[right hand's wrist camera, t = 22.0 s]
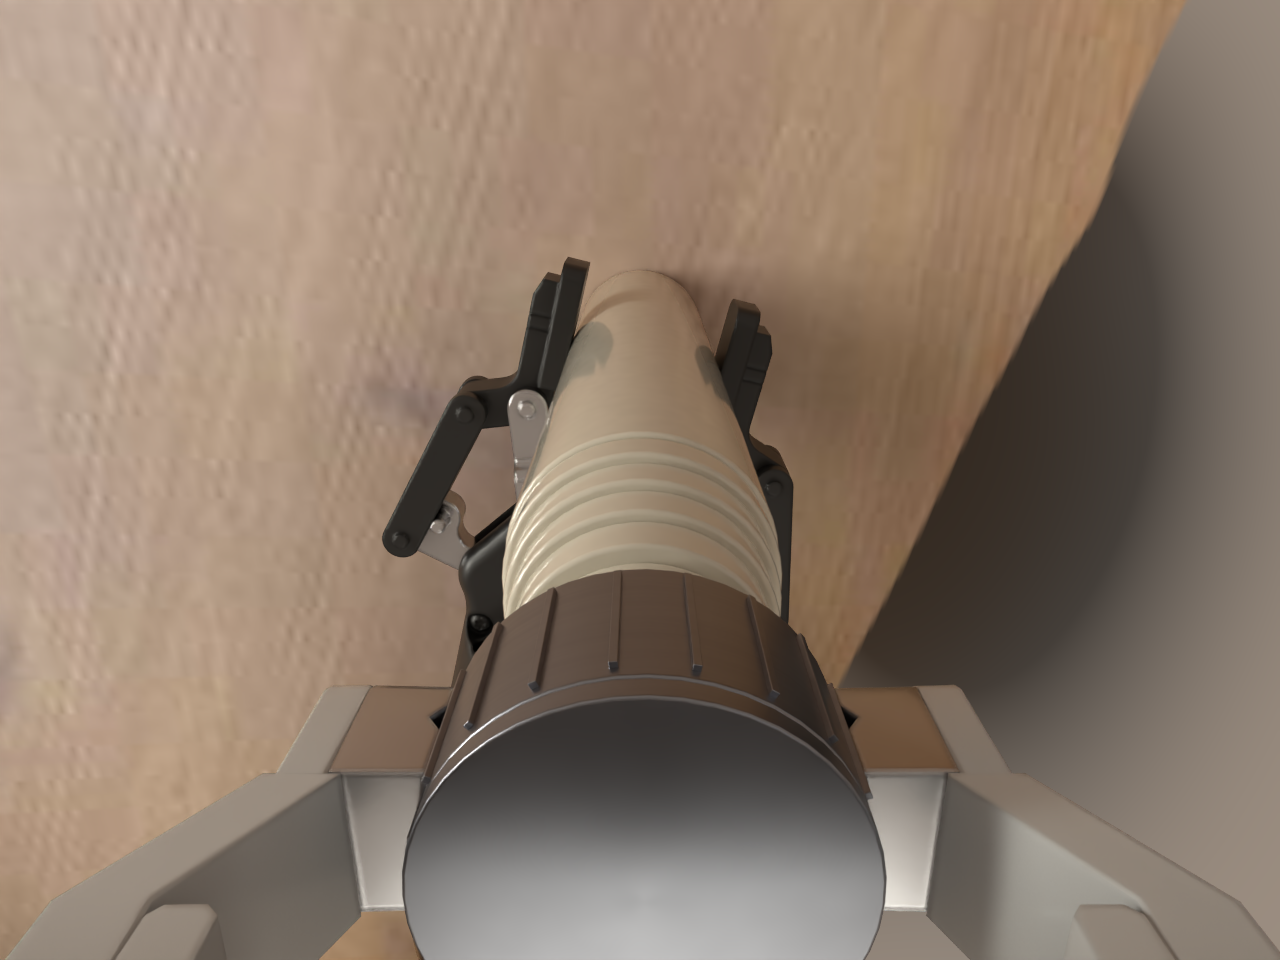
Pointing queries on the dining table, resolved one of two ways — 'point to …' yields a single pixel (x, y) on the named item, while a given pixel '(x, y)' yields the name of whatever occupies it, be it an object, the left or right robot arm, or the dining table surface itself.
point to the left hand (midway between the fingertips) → (661, 286)
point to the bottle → (641, 458)
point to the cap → (644, 788)
